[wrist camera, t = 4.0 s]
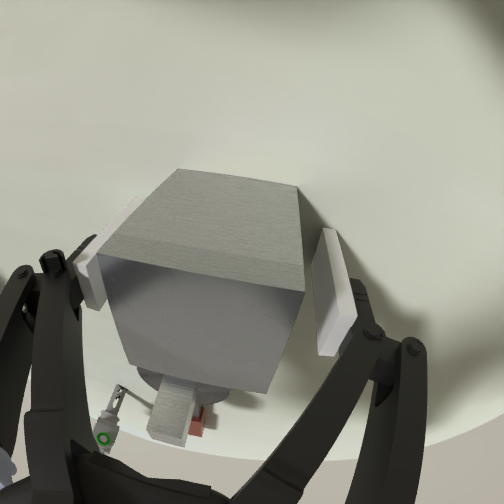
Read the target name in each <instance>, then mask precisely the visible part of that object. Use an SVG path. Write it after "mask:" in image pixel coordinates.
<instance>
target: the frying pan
mask: <svg viewBox="0 0 504 504" xmlns="http://www.w3.org/2000/svg"><path fill="white" fill-rule="evenodd" d="M137 370H138V373H139V375H140V376H141V378H142V379H143V380H144V381H145V382H146V383H147V384H148V385H150V386H151V387H152V388H154V389H155V390H157V391H158V394H157V397H156V400H155V403H154V406H153V409H152V412H151V415H150V418H149V421H148V425H147V428H146V430H147V431H148V433H149V435H150V436H151V438H152V439H155V440H158V441H162V442H165V443H169V444H173V445H177V446H181V447H185V443H186V439H187V435H188V434H190V435H194V436H199V437H202V434H203V430H204V425H205V421H204V408H203V407H202V404H213V403H218V402H221V401H223V400H225V399H226V398H227V397H228V395H229V390H230V388H225V387H220V386H214V385H209V384H204V383H200V382H195V381H191V380H186V379H182V378H178V377H174V376H170V375H166V374H162V373H158V372H155V371H151V370H148V369H144V368H141V367H137Z"/></svg>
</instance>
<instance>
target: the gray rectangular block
mask: <svg viewBox="0 0 504 504" xmlns="http://www.w3.org/2000/svg"><path fill="white" fill-rule="evenodd" d="M96 255H97V259H98V263H99V268H100V272H101V276H102V280H103V284H104V287H105V291H106V295H107V298H108V302H109V305H110V308H111V312H112V315H113V318H114V321H115V324H116V328H117V331H118V334H119V336H120V339H121V342H122V345H123V348H124V351H125V353H126V356H127V359H128V361H129V364H131V365H134V366H137V367H141V368H144V369H148V370H151V371H155V372H158V373H162V374H166V375H170V376H174V377H178V378H182V379H186V380H191V381H195V382H200V383H204V384H209V385H214V386H220V387H225V388H231V389H237V390H243V391H249V392H256V393H264V394H266V393H267V391H268V388H269V386H270V384H271V381H272V379H273V376H274V374H275V371H276V369H277V366H278V364H279V361H280V359H281V356H282V354H283V351H284V349H285V346H286V343H287V341H288V338H289V335H290V333H291V330H292V327H293V325H294V322H295V319H296V317H297V314H298V311H299V308H300V305H301V303H302V300H303V297H304V294H305V278H304V263H303V250H302V237H301V226H300V215H299V205H298V195H297V187H296V186H291V185H285V184H280V183H274V182H268V181H263V180H257V179H250V178H244V177H237V176H231V175H224V174H216V173H209V172H201V171H193V170H184V169H177V170H176V171H175V172H174V173H172V174H171V175H170V176H169V177H168V178H167V179H166V180H165V181H164V182H163V183H162V184H161V185H160V186H159V187H158V188H157V189H156V190H155V191H154V192H153V193H151V194H150V195H149V196H148V197H147V198H146V199H145V200H144V201H143V202H142V203H141V204H140V205H139V206H138V208H137V209H136V210H135V211H134V212H133V213H132V214H131V215H130V216H129V217H128V218H127V219H126V220H125V221H124V222H123V223H122V224H121V225H120V226H119V227H118V229H117V230H116V231H115V232H114V233H113V234H112V235H111V236H110V237H109V238H108V240H107V241H106V242H105V243H104V244H103V245H102V246H101V248H100V249H99V250H98V251H97V252H96Z"/></svg>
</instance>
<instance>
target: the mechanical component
mask: <svg viewBox="0 0 504 504" xmlns="http://www.w3.org/2000/svg"><path fill="white" fill-rule="evenodd" d="M120 389H121V388H120V387H119V385H116V387H115V389H114V392H113V394H112V397H111V399H110V402H109V404H108V407H107V409H106V410H105V411H104V410H103V411H101V413H102V414H101V416H100V417H99V418H98V420H97V423H96V424H95V425H94V427H93V430H92V433H93V436H94V438H95V440H96V442H97V444H98V447H99V449H100V453H102V454H104V455H106V454H109V453H110V450H111V447H112V446H113V445H114V443H115V440H116V437H117V434H118V431H119V426H117V422H118V421H119V418H118V417H117V414H118V411H119V408H120V406H121V403H122V401H123V398H124V395H125V393H126V388H125V389H123V391H122V392H120V393H118V394H117V392H119V391H120ZM116 394H117V396H116ZM115 397H116V398H115ZM117 398H119V400H118V403H117V405H116V407H115V408H113V402H114V399H117Z"/></svg>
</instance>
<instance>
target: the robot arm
mask: <svg viewBox="0 0 504 504" xmlns="http://www.w3.org/2000/svg"><path fill="white" fill-rule="evenodd" d="M144 200H145V199H142V198H135V199H134V200H133V201H132V202H131V203H129V204H128V205H127V206H126V207H125V208H124V209H123V210H122V211H121V212H120V213H119V214H118V215H117V216H116V217H115V218H114V219H113V220H112V221H111V222H110V223H109V224H108V225H107V226H106V227H105V228H104V229H103V230H102V231H101V232H100V233H99V234H98V235H95V234H94V235H92V236H90V237H88V238H87V239H86V240H85V241H84V242H83V243H82V244H81V246H79V247H78V248H77V250H75V251H74V252H73V253H72V254H71V255H70V257H69V258H68V259H67V260H65V257H64V253H63V252H62V251H61V250H58V249H54V250H50V251H47V252H46V253H44V254H43V255H42V256H41V257H40V259H39V262H40V264H41V267H42V270H43V273H34V270H33V268H32V267H31V266H30V265H23V266H20V267H18V268H17V269H16V270H15V271H14V272H13V274H12V275H11V277H10V279H9V280H8V282H7V284H6V286H5V288H4V289H3V291H2V293H1V295H0V504H297V503H298V501H299V500H300V499H301V497H302V495H303V491H304V488H305V486H306V485H307V483H308V482H309V480H310V479H311V478H312V476H313V475H314V473H315V472H316V470H317V469H318V468H319V466H320V465H321V463H322V462H323V460H324V458H325V457H326V455H327V454H328V452H329V451H330V449H331V447H332V446H333V444H334V443H335V441H336V439H337V438H338V436H339V434H340V432H341V431H342V429H343V427H344V425H345V424H346V422H347V420H348V418H349V416H350V415H351V413H352V411H353V409H354V407H355V405H356V403H357V401H358V399H359V397H360V395H361V393H362V391H363V389H364V387H365V385H366V383H367V381H368V379H370V380H372V381H374V385H373V392H372V398H371V403H370V409H369V414H368V419H367V424H366V429H365V434H364V438H363V442H362V447H361V451H360V455H359V458H358V462H357V466H356V470H355V473H354V476H353V480H352V483H351V486H350V490H349V493H348V496H347V499H346V502H345V504H415V499H416V495H417V489H418V484H419V479H420V473H421V467H422V459H423V452H424V443H425V432H426V417H427V352H426V348H425V346H424V345H423V343H422V342H421V341H420V340H418V339H416V338H414V337H407V338H405V339H404V340H403V341H402V342H398V341H395V340H393V339H390V338H388V337H386V335H385V332H384V330H383V329H382V328H381V327H380V326H379V325H378V324H376V323H375V320H374V316H373V312H372V309H371V305H370V302H369V298H368V296H367V291H366V288H365V286H364V285H363V283H362V282H361V281H360V280H358V279H352V278H349V277H348V273H347V270H346V266H345V262H344V258H343V255H342V251H341V247H340V244H339V240H338V237H337V233H336V230H334V229H329V228H322V232H321V235H320V238H319V242H318V245H317V248H316V251H315V255H314V258H313V261H312V264H311V271H312V282H313V292H314V304H315V316H316V330H317V346H318V355H321V356H332V357H334V356H335V354H336V353H337V351H338V349H339V359H338V360H337V362H336V363H335V365H334V366H333V368H332V369H331V371H330V373H329V375H328V376H327V378H326V379H325V381H324V382H323V384H322V385H321V387H320V389H319V390H318V392H317V393H316V395H315V396H314V397H313V399H312V400H311V402H310V403H309V405H308V406H307V408H306V409H305V410H304V412H303V413H302V415H301V416H300V417H299V419H298V420H297V421H296V423H295V424H294V426H293V427H292V428H291V430H290V431H289V432H288V433H287V435H286V436H285V437H284V439H283V440H282V441H281V442H280V444H279V445H278V446H277V448H276V449H275V450H274V451H273V452H272V454H271V455H270V456H269V457H268V458H267V460H266V461H265V462H264V463H263V464H262V466H261V467H260V468H259V469H258V470H257V471H256V473H255V474H254V475H253V476H252V477H251V478H250V479H249V480H248V481H247V482H246V483H245V485H243V486H242V487H241V489H240V490H239V491H238V492H237V493H236V494H235V495H234V496H233V497H232V498H231V499H229V498H228V497H226V496H225V495H223V494H221V493H219V492H217V491H215V490H212V489H211V486H208V485H203V484H198V483H193V482H189V481H184V480H180V479H158V478H148V477H145V476H143V475H141V474H140V473H138V472H136V471H135V470H133V469H132V468H130V467H129V466H127V465H125V464H124V463H122V462H121V461H119V460H117V459H114V458H111V457H109V456H107V455H104V454H102V453H100V449H99V447H98V444H97V442H96V440H95V438H94V436H93V433H92V428H91V423H90V416H89V410H88V403H87V395H86V386H85V376H84V363H83V346H82V308H81V305H80V304H81V302H82V301H83V299H84V301H85V303H86V306H87V308H91V309H94V310H97V311H100V309H101V308H102V306H103V305H104V303H105V301H106V300H107V295H106V291H105V287H104V284H103V280H102V276H101V272H100V268H99V263H98V259H97V255H96V252H97V251H98V250H99V249H100V248H101V246H102V245H103V244H104V243H105V242H106V241H107V240H108V238H109V237H110V236H111V235H112V234H113V233H114V232H115V231H116V230H117V229H118V227H119V226H120V225H121V224H122V223H123V222H124V221H125V220H126V219H127V218H128V217H129V216H130V215H131V214H132V213H133V212H134V211H135V210H136V209H137V208H138V206H139V205H140V204H141V203H142V202H143V201H144ZM23 306H25V310H24V311H22V308H23ZM31 364H32V368H31ZM30 368H31V409H30V411H28V412H26V413H25V415H24V433H25V445H26V453H27V461H28V468H29V474H30V476H28V477H26V478H24V479H22V480H20V481H17V482H15V483H13V481H12V477H11V475H15V474H16V472H17V469H16V466H15V464H14V463H13V462H12V461H11V456H12V454H13V450H14V446H15V443H16V437H17V431H18V424H19V417H20V412H21V406H22V402H23V397H24V392H25V387H26V383H27V379H28V375H29V371H30Z"/></svg>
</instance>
